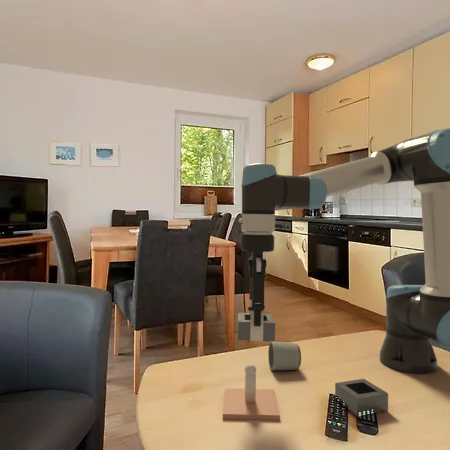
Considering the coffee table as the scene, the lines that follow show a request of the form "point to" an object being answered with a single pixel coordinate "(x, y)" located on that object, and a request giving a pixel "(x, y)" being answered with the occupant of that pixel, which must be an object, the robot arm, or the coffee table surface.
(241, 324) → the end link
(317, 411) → the coffee table surface
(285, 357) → the ceramic mug
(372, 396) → the grey square hollow block
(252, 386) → the brown base with peg
